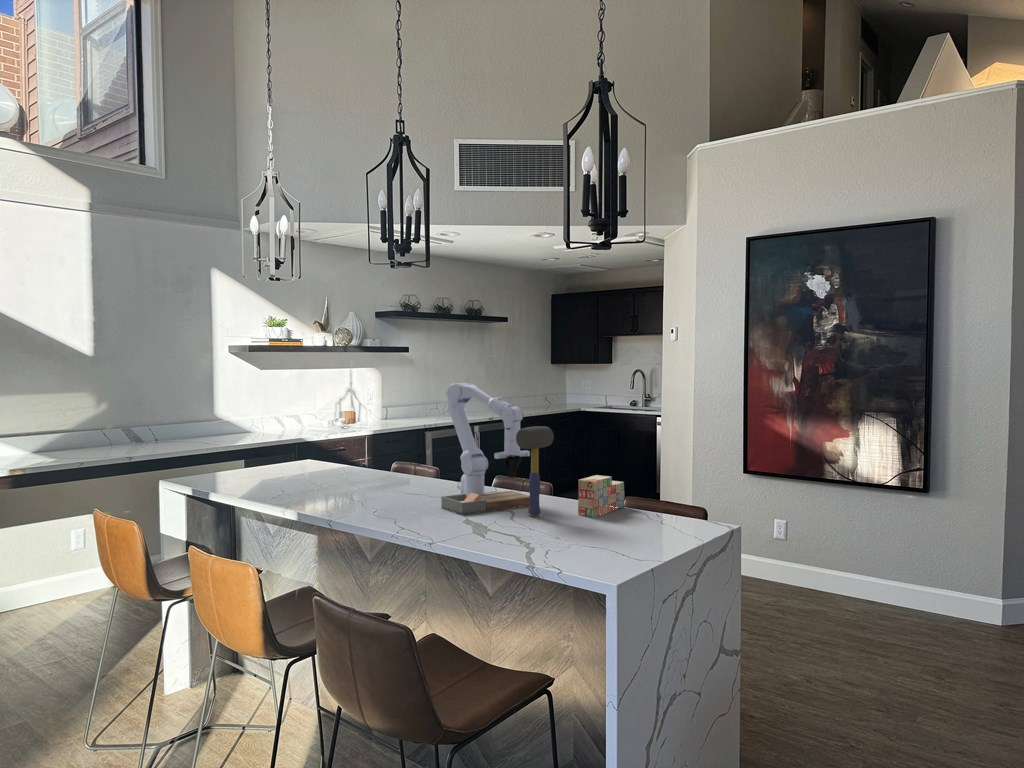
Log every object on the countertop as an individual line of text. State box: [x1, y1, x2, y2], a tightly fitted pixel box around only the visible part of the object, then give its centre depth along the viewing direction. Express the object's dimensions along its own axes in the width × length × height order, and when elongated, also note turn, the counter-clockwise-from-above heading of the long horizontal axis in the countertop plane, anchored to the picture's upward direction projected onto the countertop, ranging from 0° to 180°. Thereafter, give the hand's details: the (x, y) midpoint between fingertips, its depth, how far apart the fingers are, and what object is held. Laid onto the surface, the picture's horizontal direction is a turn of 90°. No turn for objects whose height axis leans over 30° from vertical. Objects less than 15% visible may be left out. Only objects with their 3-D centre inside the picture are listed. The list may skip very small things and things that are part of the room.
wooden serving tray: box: [466, 490, 530, 512], centre depth 254 cm, size 14×20×3 cm
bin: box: [440, 493, 487, 515], centre depth 246 cm, size 14×10×4 cm
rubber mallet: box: [516, 425, 555, 518], centre depth 235 cm, size 12×8×30 cm, turn 137°
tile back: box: [463, 492, 482, 502], centre depth 248 cm, size 5×5×2 cm
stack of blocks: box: [577, 474, 625, 518], centre depth 245 cm, size 21×6×12 cm, turn 143°
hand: (512, 477), depth 258 cm, fingers closed
